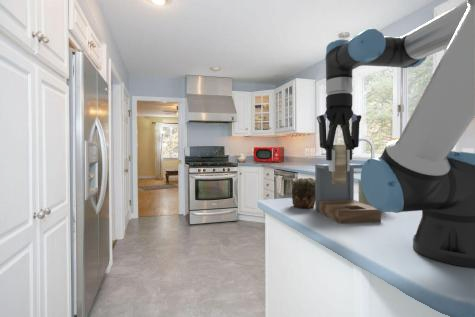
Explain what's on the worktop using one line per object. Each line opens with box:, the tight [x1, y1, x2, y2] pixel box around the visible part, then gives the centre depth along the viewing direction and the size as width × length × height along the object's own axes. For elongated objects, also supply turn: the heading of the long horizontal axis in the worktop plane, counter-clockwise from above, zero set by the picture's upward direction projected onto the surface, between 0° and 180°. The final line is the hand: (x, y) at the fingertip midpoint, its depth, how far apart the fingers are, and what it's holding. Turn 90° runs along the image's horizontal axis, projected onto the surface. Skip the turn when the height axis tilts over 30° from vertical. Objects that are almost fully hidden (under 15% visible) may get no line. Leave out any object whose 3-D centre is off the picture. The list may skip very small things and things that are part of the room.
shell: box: [291, 177, 315, 209], centre depth 112 cm, size 11×11×12 cm
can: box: [357, 178, 372, 206], centre depth 107 cm, size 9×9×12 cm
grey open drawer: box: [314, 163, 364, 212], centre depth 102 cm, size 8×15×18 cm, turn 96°
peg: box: [332, 144, 346, 185], centre depth 83 cm, size 4×4×12 cm
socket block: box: [318, 199, 382, 224], centre depth 96 cm, size 17×14×4 cm
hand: (339, 170), depth 83 cm, fingers closed on peg, 4 cm apart
